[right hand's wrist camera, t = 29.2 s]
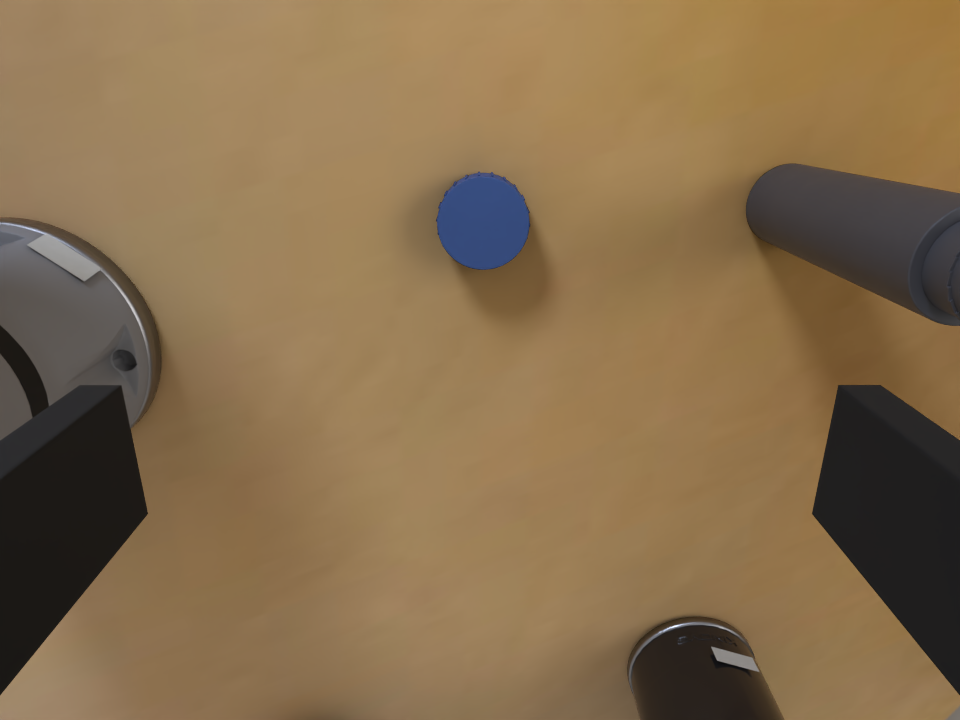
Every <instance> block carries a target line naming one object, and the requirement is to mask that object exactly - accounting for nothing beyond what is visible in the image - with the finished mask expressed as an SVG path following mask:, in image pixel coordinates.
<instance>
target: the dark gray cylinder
mask: <svg viewBox="0 0 960 720" xmlns="http://www.w3.org/2000/svg"><path fill="white" fill-rule="evenodd" d="M746 216H747V221H748V224H749V226H750V228H751V229H752V231H753V232H754V233H755V235H757V236H758V237H759V238H760V239H762V240H764V241H766V242H768V243H770V244H772V245H774V246H776V247H778V248H780V249H783V250H785V251H787V252H789V253H791V254H793V255H795V256H797V257H799V258H802V259H804V260H806V261H808V262H810V263H812V264H814V265H816V266H818V267H821V268H823V269H825V270H827V271H829V272H831V273H833V274H835V275H837V276H839V277H842V278H844V279H846V280H848V281H850V282H852V283H854V284H856V285H858V286H861V287H863V288H865V289H867V290H869V291H871V292H873V293H875V294H877V295H880V296H882V297H884V298H886V299H888V300H890V301H892V302H894V303H896V304H898V305H901V306H903V307H905V308H907V309H909V310H911V311H913V312H915V313H917V314H920V315H922V316H924V317H926V318H928V319H930V320H932V321H935V322H937V323H940V324H944V325H951V326H960V193H955V192H949V191H944V190H938V189H933V188H927V187H922V186H916V185H911V184H905V183H900V182H894V181H889V180H883V179H878V178H872V177H867V176H861V175H856V174H850V173H845V172H839V171H834V170H828V169H823V168H817V167H812V166H807V165H801V164H784V165H780V166H778V167H775V168H773V169H771V170H769V171H768V172H766V173H765V174H764V175H763V176H762V177H760V178H759V180H758V181H757V182H756V183H755V185H754V186H753V188H752V190H751V191H750V194H749V196H748V200H747V205H746Z"/></svg>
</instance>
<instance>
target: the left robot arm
mask: <svg viewBox="0 0 960 720" xmlns="http://www.w3.org/2000/svg"><path fill="white" fill-rule="evenodd" d="M627 674H628V680H629V684H630V687H631V690H632V693H633V695H634V698H635V701H636V705H637V709H638V713H639V717H640V720H784V718H783V716H782V714H781V712H780V709H779V707H778V705H777V703H776V701H775V699H774V697H773V695H772V693H771V691H770V689H769V687H768V685H767V683H766V681H765V679H764V677H763V675H762V673H761V671H760V669H759V667H758V665H757V663H756V661H755V657H754V654H753V652H752V650H751V648H750V646H749V644H748V642H747V640H746V639H745V637H744V636H743V635H742V634H741V633H740V632H739V631H738V630H737V629H735V628H734V627H732V626H731V625H729V624H727V623H725V622H722V621H719V620H716V619H712V618H706V617H688V618H681V619H677V620H673V621H670V622H667V623H665V624H662V625H660V626H658V627H656V628H655V629H653V630H652V631H650V632H649V633H647V634H646V635H645V636H644V637H643V638H642V639H641V640H640V641H639V642H638V643H637V645H636V646H635V648H634V649H633V651H632V653H631V655H630V658H629V661H628V667H627Z"/></svg>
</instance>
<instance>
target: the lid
mask: <svg viewBox="0 0 960 720" xmlns="http://www.w3.org/2000/svg"><path fill="white" fill-rule="evenodd" d="M444 196H445V197H444V199H443V201H442V202H440V205H439V207H438V208H439V213H438V217H437V219H436V221H437V228H438V235H439V238H440V240H441V243H442V245H443V247H444V248H445V250H446V251H447V252H448V254H449V255H450V256H451V257H452V258H453V259H455V260H456V261H457V262H459V263H460V264H462V265H464V266H467V267H470V268H473V269H479V270H486V269H493V268H497V267H500V266H502V265H504V264H506V263H508V262H509V261H511V260H512V259H513V258H514V257H515V256H516V255H517V254H518V253H519V252H520V251H521V249H522V247H523V246H524V244H525V242H526V239H527V236H528V232H529V226H530V223H529V214H528V213H529V210H528V208H527V207H526V204H525V202H524V200H525V199H524V197H523V195H521V194H520V193H519V191H518V190H517V187H516V185H515V184H514V185H513V184H511V183H510V182H509V181H508V180H506V178H505V177H500V176H498V175H495V174H493V173H492V172H491V174H490V173H480V172H478V173H476V174H472V175H469V176H468V175H465V177H464V178H462V179H460V180H459V181H457V182H456V181H455V182H454V185H453V186H452V187H451V188H450V189H449V190H448V191H446V192H445V195H444Z"/></svg>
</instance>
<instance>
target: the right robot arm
mask: <svg viewBox="0 0 960 720" xmlns="http://www.w3.org/2000/svg"><path fill="white" fill-rule="evenodd" d="M160 373H161V349H160V342H159V337H158V333H157V330H156V326H155V323H154V321H153V318H152V315H151V313H150V311H149V309H148V307H147V305H146V303H145V301H144V299H143V298H142V296H141V295H140V293H139V291H138V290H137V288H136V287H135V286H134V284H133V283H132V282H131V280H130V279H129V278H128V277H127V276H126V275H125V273H124V272H123V271H122V270H121V269H120V268H119V267H118V266H117V265H116V264H115V263H114V262H113V261H112V260H111V259H109V258H108V257H107V256H106V255H105V254H103V253H102V252H101V251H100V250H98V249H97V248H95V247H94V246H92V245H91V244H89V243H88V242H86V241H84V240H83V239H81V238H79V237H78V236H76V235H73V234H71V233H69V232H67V231H65V230H63V229H60V228H57V227H55V226H52V225H49V224H45V223H42V222H38V221H33V220H28V219H20V218H0V695H1V694H2V692H3V691H4V690H5V689H6V687H7V686H8V685H9V684H10V683H11V681H12V680H13V679H14V678H15V676H16V675H17V674H18V673H19V671H20V670H21V669H22V668H23V667H24V665H25V664H26V663H27V662H28V660H29V659H30V658H31V657H32V655H33V654H34V653H35V652H36V651H37V649H38V648H39V647H40V646H41V644H42V643H43V642H44V641H45V640H46V638H47V637H48V636H49V635H50V633H51V632H52V631H53V630H54V628H55V627H56V626H57V625H58V624H59V622H60V621H61V620H62V619H63V617H64V616H65V615H66V614H67V613H68V611H69V610H70V609H71V608H72V606H73V605H74V604H75V603H76V601H77V600H78V599H79V598H80V597H81V595H82V594H83V593H84V592H85V590H86V589H87V588H88V587H89V585H90V584H91V583H92V582H93V581H94V579H95V578H96V577H97V576H98V574H99V573H100V572H101V571H102V570H103V568H104V567H105V566H106V565H107V563H108V562H109V561H110V560H111V558H112V557H113V556H114V555H115V554H116V552H117V551H118V550H119V549H120V547H121V546H122V545H123V544H124V543H125V541H126V540H127V539H128V538H129V536H130V535H131V534H132V533H133V531H134V530H135V529H136V528H137V527H138V525H139V524H140V523H141V522H142V520H143V519H144V518H145V517H146V515H147V514H148V512H147V507H146V502H145V497H144V492H143V487H142V483H141V478H140V473H139V468H138V463H137V458H136V453H135V448H134V444H133V439H132V434H131V428H132V427H133V426H134V425H135V424H136V423H137V422H138V421H139V420H140V419H141V418H142V417H143V415H144V414H145V413H146V411H147V410H148V408H149V406H150V404H151V403H152V401H153V399H154V396H155V394H156V391H157V388H158V384H159V380H160ZM812 514H813V515H814V517H815V518H816V519H817V520H818V522H819V523H820V524H821V525H822V527H823V528H824V529H825V530H826V531H827V533H828V534H829V535H830V536H831V538H832V539H833V540H834V541H835V543H836V544H837V545H838V546H839V547H840V549H841V550H842V551H843V552H844V554H845V555H846V556H847V557H848V558H849V560H850V561H851V562H852V563H853V565H854V566H855V567H856V568H857V570H858V571H859V572H860V573H861V574H862V576H863V577H864V578H865V579H866V581H867V582H868V583H869V584H870V585H871V587H872V588H873V589H874V590H875V592H876V593H877V594H878V595H879V597H880V598H881V599H882V600H883V601H884V603H885V604H886V605H887V606H888V608H889V609H890V610H891V611H892V613H893V614H894V615H895V616H896V617H897V619H898V620H899V621H900V622H901V624H902V625H903V626H904V627H905V628H906V630H907V631H908V632H909V633H910V635H911V636H912V637H913V638H914V640H915V641H916V642H917V643H918V644H919V646H920V647H921V648H922V649H923V651H924V652H925V653H926V654H927V655H928V657H929V658H930V659H931V660H932V662H933V663H934V664H935V665H936V667H937V668H938V669H939V670H940V671H941V673H942V674H943V675H944V676H945V678H946V679H947V680H948V681H949V683H950V684H951V685H952V686H953V687H954V689H955V690H956V691H957V692H958V694H959V695H960V440H958V439H957V438H955V437H954V436H953V435H951V434H950V433H948V432H947V431H945V430H944V429H943V428H941V427H940V426H938V425H937V424H935V423H934V422H932V421H931V420H930V419H928V418H927V417H925V416H924V415H922V414H921V413H920V412H918V411H917V410H915V409H914V408H912V407H911V406H910V405H908V404H907V403H905V402H904V401H902V400H901V399H900V398H898V397H897V396H895V395H894V394H892V393H891V392H889V391H888V390H887V389H885V388H884V387H882V386H881V385H838V390H837V395H836V400H835V405H834V410H833V414H832V419H831V424H830V429H829V434H828V439H827V444H826V448H825V453H824V458H823V463H822V468H821V473H820V478H819V483H818V487H817V492H816V497H815V502H814V507H813V512H812Z"/></svg>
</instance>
